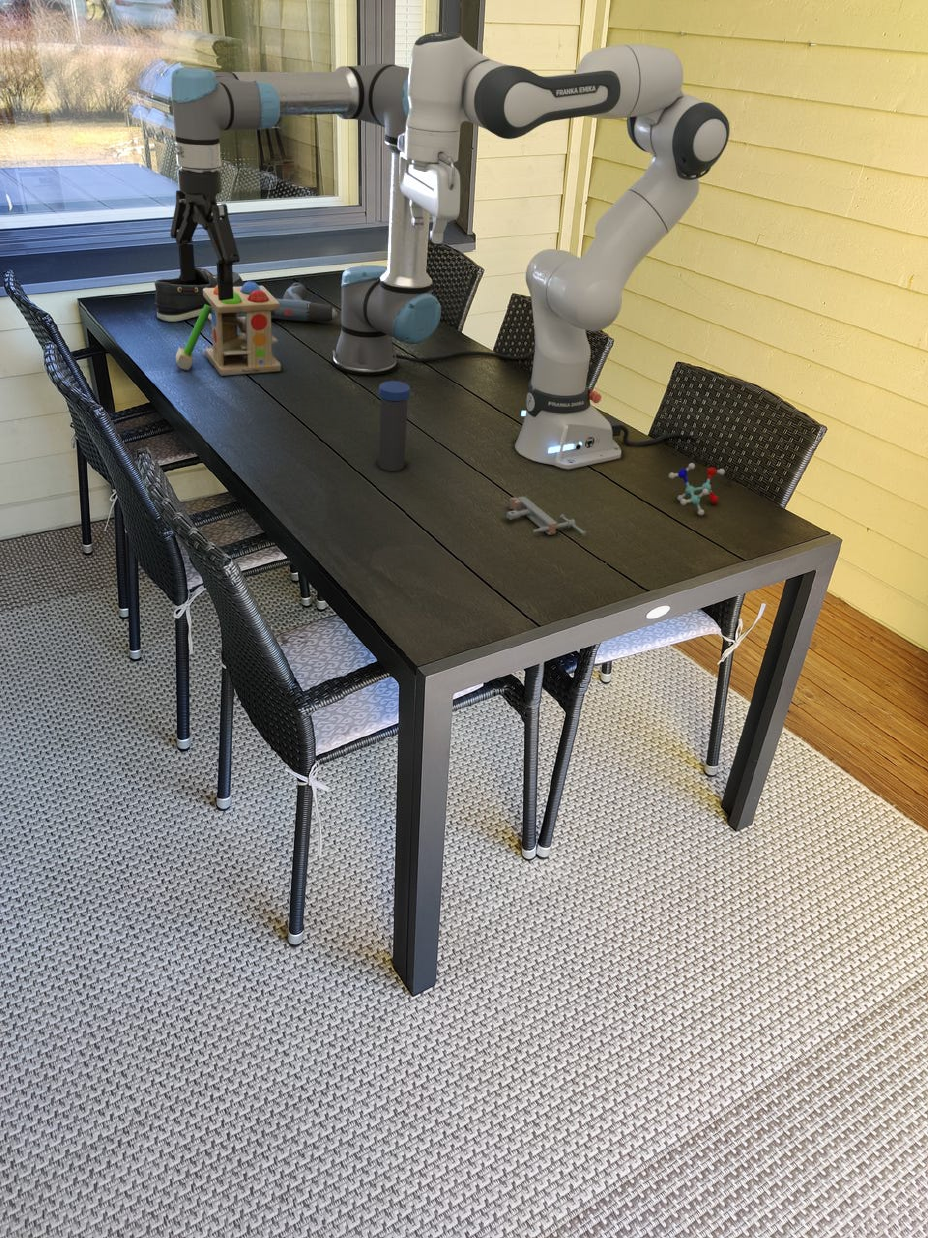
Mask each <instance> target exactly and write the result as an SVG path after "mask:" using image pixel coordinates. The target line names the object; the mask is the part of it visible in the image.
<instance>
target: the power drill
mask: <svg viewBox="0 0 928 1238" xmlns="http://www.w3.org/2000/svg"><path fill="white" fill-rule="evenodd" d="M307 295H308V290H307V287H306V285H304V284H303V283H301V282H293V283H292V284H291V285H290V286H289V287H288V288H287V289H286V291H285V292H284V294H283V297H282V298H275V299H276V300H277V301H278V302H279V303H280V310H271V319H274V320H275V319H276V320H283V321H294V322H295V321H297V322H332V321H333V320H334V319H336V318H337V317H338V312H337V311H336V308H334V307H333V306H332V305H331V304H324V303H317V302H313V301H307V300H305V299H306V297H307Z"/></svg>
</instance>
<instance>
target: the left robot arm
mask: <svg viewBox="0 0 928 1238" xmlns="http://www.w3.org/2000/svg"><path fill="white" fill-rule="evenodd" d="M408 76H409V67H406V66H401V65H397V64H394V63H375V64H374V63H373V64H363V65H349V66H348V65H342V66H338V67H337V68H336V69H335V70H334V71H230V72H229V71H213V70H211V69H207V68H201V67H200V68H199V67H186V66H185V67H177V68H175V69H173V71H172V73H171V76H170V77H171V80H170V81H171V82H170V91H171V92H170V93H171V94H170V100H171V102H172V116H173V125H174V126H173V128H174V140H175V149H174V152H175V154H176V164H177V165H178V166H179V168H178V169H177V182H178V184H177V185H178V189H176V191H175V206H174V212H173V217H172V223H171V227H170V238H172V239H175V243H176V244H177V246H178V258H179V272H180V274H181V281H189V280H196V278H195V267H196V265H195V251H194V244H193V243H194V239H193V237H194V234H195V232H196V230H197V228H198V225H200V226H201V228H202V229H203V230H204V231H206V233H207V235H208V238H209V240H210V243H211V245H212V247H213V250H214V253H215V255H216V257H217V259H218V260H217V262H215V264H216V274H217V280H218V297H219V300H220V301H222V300H228V299H234V298H233V272H234V270H233V264H235V263H239V262H240V259H241V258H240V254H239V251H238V248H237V244H236V241H235V237H234V234H233V230H232V226H231V222H230V218H229V210H228V205H227V204H226V203H222V204H221V203H219V204H218V202H217V195H219V194H221V193H222V191H223V185H222V183H223V182H222V172H221V170H220V167H221V166H222V161H221V145H220V131H237V130H238V131H239V130H240V131H241V130H242V131H243V130H246V131H247V130H257V131H260V130H264V129H271V128H274V127H275V126H276V125H277V124H278V122H279V120H280V117H281V116H318V115H319V116H320V115H321V116H322V115H337V117H339V118H340V119H342V120H356V121H362V122H366V123H370V124H373V125H377V126H380V127H383V128H384V144H385V145H386V146H387V148H389V150H390V152H391V159H390V160H391V161H390V162H391V163H390V187H389V189H390V190H389V211H388V213H389V215H388V217H389V218H388V243H387V266H386V265H374V264H372V265H371V264H370V265H369V264H368V265H357V266H356V265H355V266H351V267H348V268H346V269H345V270H344V271H343V273H342V277H341V278H342V279H341V285H340V288H341V316H340V317H341V319H340V321H341V324H340V325H341V326H340V329H341V330H340V336H339V338H338V341H337V344H336V348H335V350H334V349H332V355H333V361H332V362H333V363H332V364H333V366H334V367H335V368H337V369H338V370H339V371H342V372H344V373H347V374H352V375H356V376H380V375H381V376H382V375H386V374H389V373H391V372H393V371H395V369H396V368H397V361H398V360H399V359H400V360H404V361H408V362H414V363H428V362H436V361H441V360H447V359H451V358H453V357H458V356H481V357H482V356H484V357H494V358H500V359H506V360H511V361H521V360H526V359H528V358H530V357H532V356H533V355H532V351H530V352H528V353H525V354H523V355H509V354H503V353H498V352H497V353H496V352H489V351H488V352H487V351H475V350H459V351H454V352H450V353H447V354H443V355H437V356H429V357H411V356H407V355H403V354H398V353H396V352H395V347H394V343H393V341H392V338H393V339H395V340H396V341H399V342H400V343H401V342H402V343H406V344H409V345H418V344H421V343H423V342H425V341H427V340H428V339H429V338H430V337H431V336H432V334H433V333H434V332H435V331H436V329H437V328H438V327H439V324H440V320H441V317H442V316H441V315H442V309H441V308H442V307H441V303H440V302H439V301H438V299H437V297H436V296H434V294H432V293H433V279H432V278H431V277H430V275H429V274H428V273H427V263H428V260H427V259H428V245H429V233H430V232H429V231H430V230H429V228H430V215H431V214H430V213H429V212H427V211H426V210H424V209H423V208H422V209H423V218H424V228H423V229H415V228H413V227H412V215H411V210H410V199H409V198H407V197H406V196H405V195H403V194H402V192H401V188H400V174H399V161H400V153H401V151H400V150H399V149H398V136H399V135H401V134H403V133H404V132H405V131H406V120H407V117H408V114H409V101H408V96H407V90H408ZM397 359H398V360H397Z"/></svg>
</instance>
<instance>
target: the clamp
mask: <svg viewBox="0 0 928 1238" xmlns="http://www.w3.org/2000/svg"><path fill="white" fill-rule="evenodd" d="M509 509H510V511H507V512H506V518H507V519H508V520H510V521H513V520H517V519H519V518H521V517H524V516H525V517H527V518H528V519H529V520H530V521H531V522H532V523H534V524H535V525H536V526H537V527H539V528H536V529H533V530H532V533H533V534H536V533H542V532H545V533H546V534H547V535H548V536H549V535H550V536H551V535H556V533H557V529H562V528H565V527H566V528H573V529H575V530H576V531H577V532H579V533H580V534H581V536H582V537H586V535H587V531H586V530H583V529H581V528H580V527H579V526H577V524H576V520H575V519H573V518H572V519H569V518H567V517H566V516H565V514H563V513H562V514H561V515H560V516H559V519H560V520H563V521H564V522H560V523H558V522H557V521H556V520H555V519H553V518H552V517H551V516H550V515H549V514H548V513H546V512H545V511H543V509H541V508H540V507H538V506H537V505H536V504H535V503H534V502H532V501H531V500H530V499H529V498H527V496H520V497H519V496H518V497H517V496H516V497H515V496H514V497H511V498H510V503H509Z"/></svg>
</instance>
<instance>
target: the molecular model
mask: <svg viewBox="0 0 928 1238" xmlns="http://www.w3.org/2000/svg"><path fill="white" fill-rule="evenodd" d="M695 468H696V464H695V463H693V462H690V463H689V464H688V465H687V468H685V469H684V468H682V469H680V470H679V471H678V472H669V473H668V478H669V479H671V480H674V479H675V478H676V477H679V478H680V479H683V481H684V484H685V486H686V488H685V492H683V493H682V494H679V495H678V496H677V501H678V502H679V504H680V505H681V506H686V505H687V504H690V503H691V504H692V505H695V506H696V509H697V515H698V516H701V517H702V516H704V514H705V510H704V509H702V507H701V505H700V503H701V498H703V497H704V496H708V498H709V501H710V503H711V504H713V505H715V504H717V503H718V502H719V500H720V499H719V497H718V495H715V494H714V492H713V491H712V485H711V484H710V483H711V480H712V476H715V474H718V475H720V476H723V475H725V473H726V471H725V469H724V468H720V469H716V468H714V467H709V468H708V469H707V473H706V474H707V475H708V476H707V479H706V481H705V482H704V483H702V485H701V486H698V487H695V486H694V485H690V483H689V480H688V478H687V476H688V472H689V471H690V470H694V469H695ZM698 491H701V493H700V494H698V495H697V494H695V493H696V492H698ZM687 496H691V497H690V498H689V499H686V498H685V497H687Z"/></svg>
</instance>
